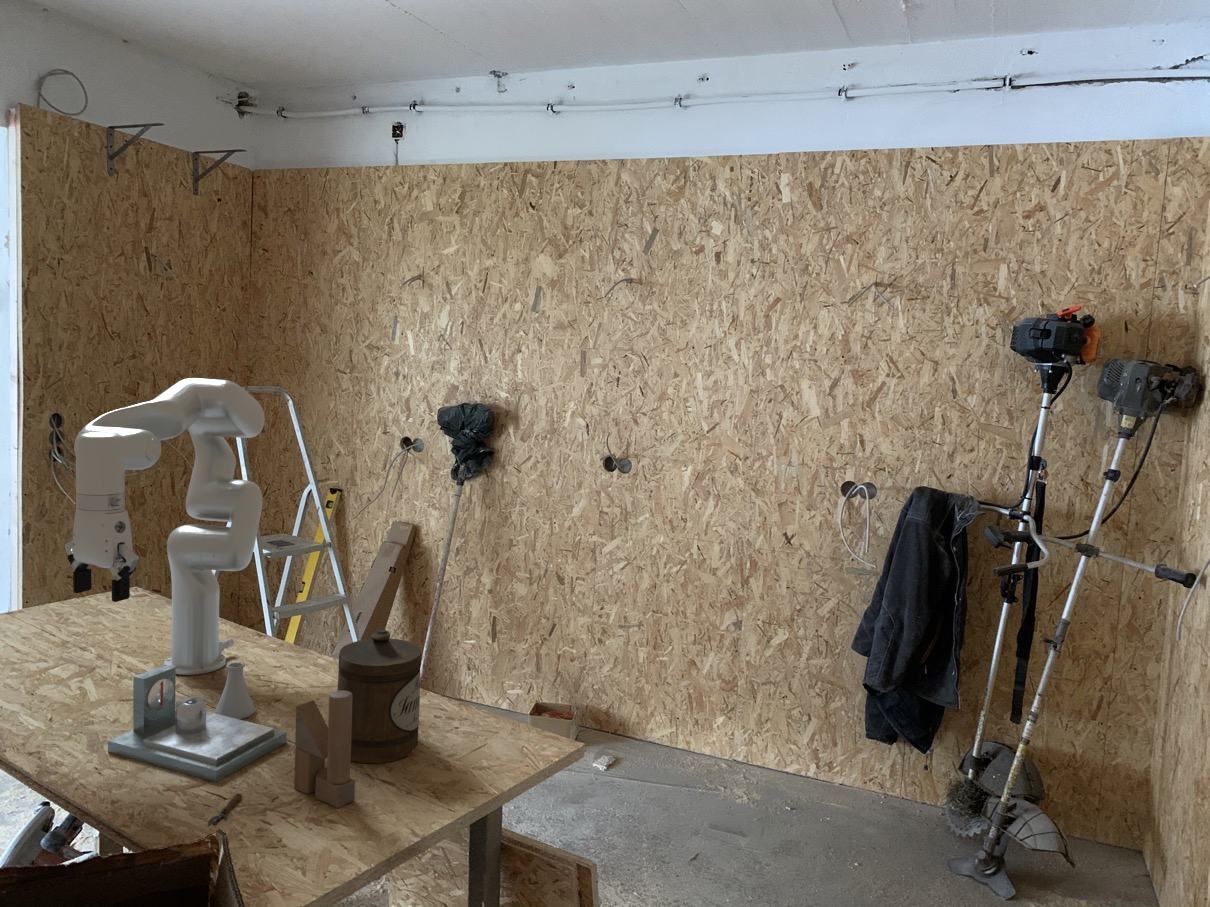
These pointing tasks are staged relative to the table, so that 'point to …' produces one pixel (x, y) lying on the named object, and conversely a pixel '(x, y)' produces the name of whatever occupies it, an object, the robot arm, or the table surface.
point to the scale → (193, 754)
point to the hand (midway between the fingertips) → (101, 595)
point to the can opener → (225, 809)
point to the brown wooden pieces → (325, 750)
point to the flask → (235, 694)
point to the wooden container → (382, 696)
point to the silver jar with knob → (190, 715)
